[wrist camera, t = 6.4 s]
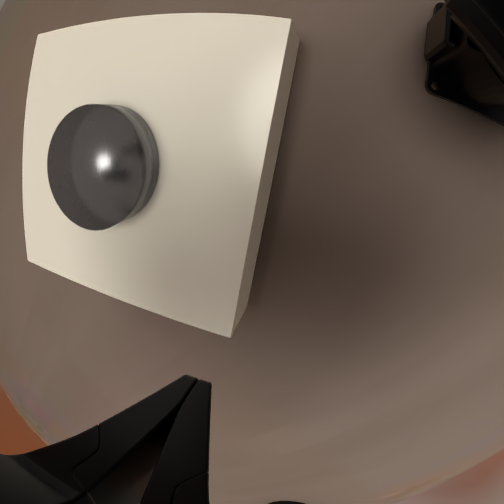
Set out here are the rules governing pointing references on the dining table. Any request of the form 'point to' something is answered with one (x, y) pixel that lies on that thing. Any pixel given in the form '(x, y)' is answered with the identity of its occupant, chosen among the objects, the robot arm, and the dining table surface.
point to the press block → (167, 155)
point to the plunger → (102, 165)
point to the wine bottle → (286, 502)
